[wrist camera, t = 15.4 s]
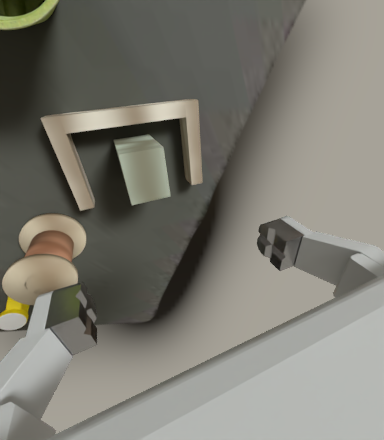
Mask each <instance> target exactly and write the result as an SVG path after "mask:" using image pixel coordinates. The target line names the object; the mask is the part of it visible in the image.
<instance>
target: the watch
mask: <svg viewBox="0 0 384 440" xmlns="http://www.w3.org/2000/svg"><path fill="white" fill-rule="evenodd" d="M29 306H30V305H27V304H23V303H19V302H17V301H15V300H13V299H11V298H10V297H9V296H8V301H7V305H6V310H5V311H3V312H2V313H0V329H3V330H15V329H19V328H21V327H23V326H24V325H25V324H26V323H27V320H28V317H29V316H28V310H29Z"/></svg>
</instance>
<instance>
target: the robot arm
mask: <svg viewBox="0 0 384 440" xmlns="http://www.w3.org/2000/svg"><path fill="white" fill-rule="evenodd" d="M259 233H260V236H259V237H258V240H257V245H258V248H259V250H260V252H261V253H262V254H263V255H264V256H265V257H268V258H270V262H271V263H272V264H273V265H274V266H275V267H276V268H277V269H278V270H279V271H281V270H284V269H287V268H290V267H292V266H294V267H296V268H298V269H300V270H303V271H305V272H307V273H309V274H312V275H314V276H316V277H318V278H320V279H323V280H325V281H327V282H329V283H331V284H334V285H336V288H335V290H334V292H333V294H334V296H335V297H336V298H334V299H332V300H330V301H328V302H326V303H324V304H322V305H320V306H317V307H316V308H314V309H311V310H310V311H307V312H305V313H303V314H301V315H299V316H297V317H295V318H293V319H291V320H289V321H287V322H285V323H283V324H281V325H279V326H277V327H274V328H272V329H271V330H268V331H266V332H264V333H262V334H260V335H258V336H256V337H254V338H252V339H250V340H248V341H246V342H244V343H242V344H240V345H238V346H236V347H234V348H231V349H229V350H227V351H226V352H223V353H221V354H219V355H217V356H215V357H213V358H211V359H209V360H207V361H205V362H203V363H201V364H199V365H197V366H195V367H193V368H190V369H189V370H187V371H184V372H182V373H180V374H178V375H176V376H174V377H172V378H170V379H168V380H166V381H164V382H162V383H160V384H158V385H156V386H154V387H152V388H150V389H148V390H146V391H143V392H141V393H140V394H137V395H135V396H133V397H131V398H129V399H127V400H125V401H123V402H121V403H119V404H117V405H115V406H113V407H111V408H109V409H107V410H105V411H103V412H101V413H98V414H97V415H95V416H92V417H90V418H88V419H86V420H84V421H82V422H80V423H78V424H76V425H74V426H72V427H70V428H68V429H66V430H64V431H62V432H60V433H58V434H56V435H55V429H54V428H53V427H51V426H49V425H48V424H46V423H44V422H43V421H41V420H40V419H41V418H42V416H43V414H44V412H45V410H46V407H47V406H48V404H49V402H50V400H51V398H52V396H53V394H54V392H55V390H56V389H57V386H58V385H59V383H60V381H61V379H62V377H63V375H64V373H65V371H66V369H67V367H68V365H69V363H70V361H71V359H72V358H73V356H72V355H75V354H77V353H79V352H81V351H84V350H86V349H88V348H91V347H93V346H96V345H97V328H96V326H95V324H94V322H95V320H96V319H97V311H96V306H95V302H94V299H93V297H92V295H89V294H87V286H86V285H85V283H84V282H80V283H77V284H74V285H70V286H67V287H64V288H60V289H57V290H54V291H51V292H48V293H44V294H41V295H39V296H38V297H37V298H36V301H35V304H34V308H33V311H32V315H31V319H30V322H29V326H28V329H27V333H26V337H24V338H21V339H20V340H19V341H18V342H17V343H16V344H15V345H14V347H13V348H12V349H11V350H10V351H9V352H8V353H7V355H6V356H5V357H4V358H3V359H2V360H1V362H0V440H384V251H383V250H382V249H380V248H378V247H376V246H374V245H370V244H366V243H362V242H358V241H354V240H349V239H345V238H341V237H337V236H333V235H329V234H324V233H320V232H312V231H311V230H309V229H308V228H306V227H305V226H303V225H302V224H300V223H299V222H297V221H296V220H294V219H292V218H291V217H288V216H285V217H282V218H279V219H277V220H273V221H271V222H267V223H264V224H261V225H260V227H259Z"/></svg>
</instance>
